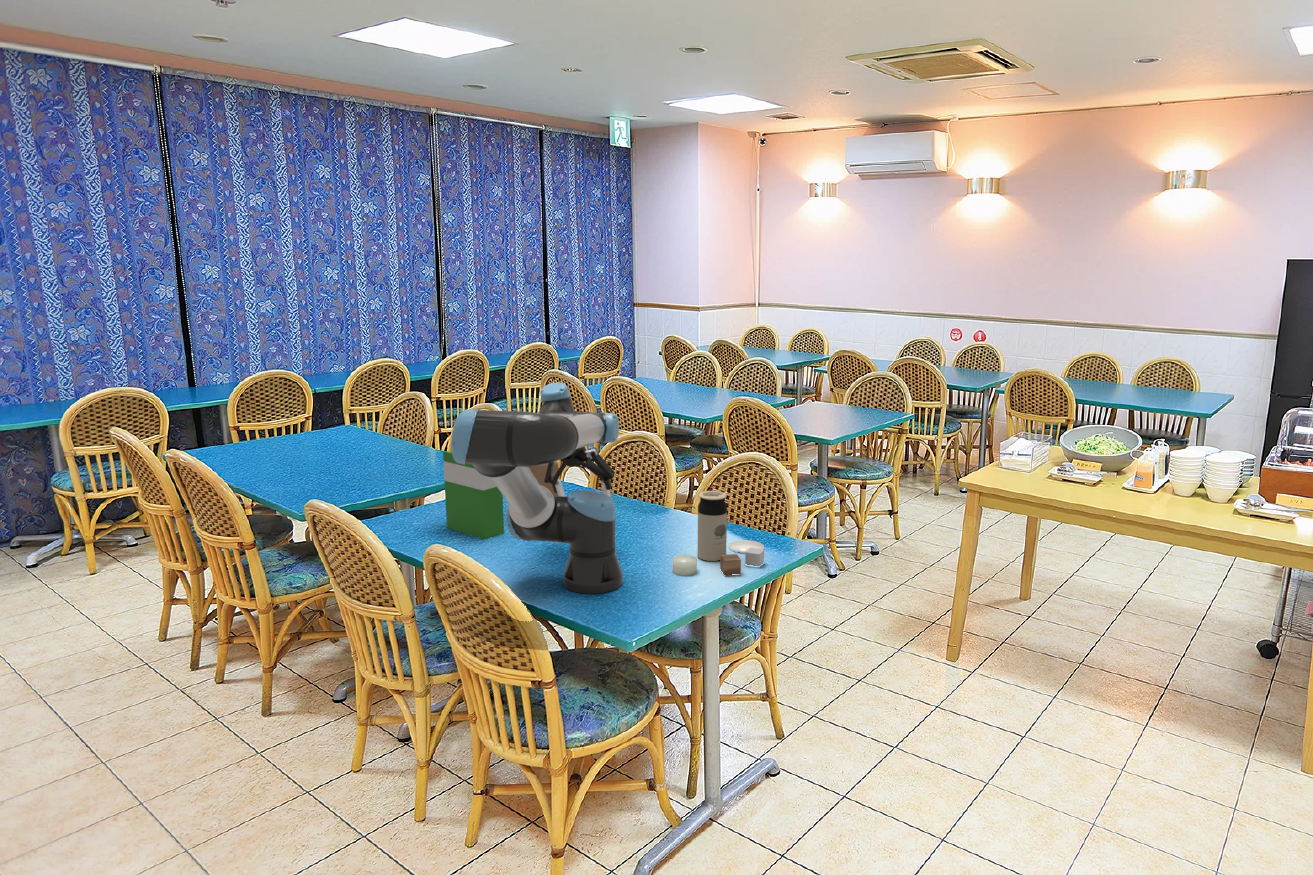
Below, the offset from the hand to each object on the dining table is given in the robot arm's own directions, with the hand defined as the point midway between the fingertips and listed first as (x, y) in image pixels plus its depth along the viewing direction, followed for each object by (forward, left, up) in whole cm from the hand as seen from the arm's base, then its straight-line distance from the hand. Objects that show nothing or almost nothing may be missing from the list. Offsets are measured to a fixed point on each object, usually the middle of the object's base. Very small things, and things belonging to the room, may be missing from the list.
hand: (585, 499), depth 244 cm
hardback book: (+8, +37, -14) cm, 40 cm away
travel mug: (-3, -36, -14) cm, 39 cm away
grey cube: (-7, -48, -14) cm, 51 cm away
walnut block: (-14, -42, -14) cm, 47 cm away
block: (+21, +20, -14) cm, 32 cm away
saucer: (+6, -45, -14) cm, 48 cm away
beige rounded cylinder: (-15, -30, -14) cm, 37 cm away
